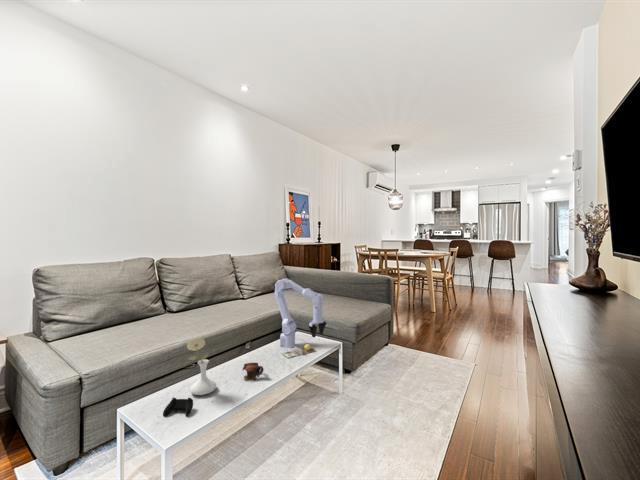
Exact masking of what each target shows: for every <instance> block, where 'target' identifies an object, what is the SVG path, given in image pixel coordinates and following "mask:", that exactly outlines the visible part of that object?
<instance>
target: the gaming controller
mask: <svg viewBox="0 0 640 480" xmlns="http://www.w3.org/2000/svg"><path fill="white" fill-rule="evenodd" d="M193 407H194V400H193V398H191V397H188V398H176V397H172V399H171V400H170V402H169V403H168V404H167V405H166V406H165V407H164V410H163V411H162V412H163V413H162V416H163V417H168V415H170V414H171V413H172V412H173V411H174V412H178V411H179V412H181V411H182V412H185V413H184V415H185V417H189V416H190V415H191V413H192V411H193Z"/></svg>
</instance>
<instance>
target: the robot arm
mask: <svg viewBox="0 0 640 480" xmlns="http://www.w3.org/2000/svg"><path fill="white" fill-rule="evenodd" d="M274 287H275V288H274V297H275V300H276V303H277V306H278V309H279V313H280V316H281V319H282V322H281V327H282V329H281V332H282V333H280V337H279V347H280V348H285V349H286V348H288V349H291V348H294V346H296V330H297V323H296V322H295V321H294V318H293V317H291V314H290V310H289V307H288V303H287V302H286V298H285V295H284V294H285V292H286V290H288V289H292V290H294V291H297V292H298V293H301V295H302V297H304V298H305V299H307V300H309V301H311V302H312V305H313V307H312V320H311V321H310V322H309V323H308V328H309V331H310V333H311V337H312V338H316V335H317V330H318V333H319V334H320V335H323V333H324V331H325V328H326V325H327V322H326V321H327V319H326V318H325V317H323V302H324V300H325V299H324V298H325V297H324V295H323V294H322V293H320V292H319V293H318V292H315V291H313V290H312V288H307V287H306V288H304V287H303V286H301V285H299V284H298V283H296V282H294V281H293V280H291V279H289V278H287V277H285V278H283V279H279V280H277V281H276V282H275V284H274ZM316 325H318V326H316Z"/></svg>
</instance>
